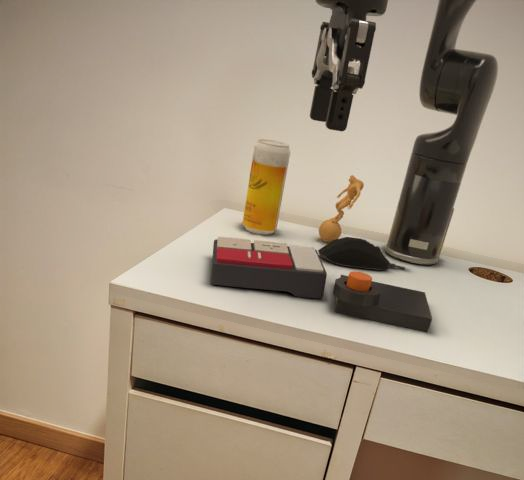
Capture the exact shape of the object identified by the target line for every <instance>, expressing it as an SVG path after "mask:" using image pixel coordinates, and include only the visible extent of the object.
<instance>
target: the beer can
mask: <svg viewBox="0 0 524 480" xmlns="http://www.w3.org/2000/svg"><path fill="white" fill-rule="evenodd" d="M290 157H291V150H290V145H289V144H288V143H287V142H286V143H285V142H282V141H278V140H273V139H265V138H258V139H257V142H256V143H255V144H254V147H253V154H252V159H251V160H252V161H251V165H250V171H249V172H250V173H249V180H248V185H247V192H246V198H245V205H244V212H243V219H242V225H243V227H244V229H245V230H246V231H248V232H249V233H252V234H257V235H263V236H264V235H265V236H266V235H267V236H268V235H269V236H270V235H272V234H273V233H274V232H276V231H277V229H278V222H279V218H280V211H281V208H282V207H281V206H282V201H283V196H284V190H285V185H286V180H287V179H286V178H287V174H288V168H289V163H290Z"/></svg>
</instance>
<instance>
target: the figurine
mask: <svg viewBox="0 0 524 480" xmlns="http://www.w3.org/2000/svg"><path fill="white" fill-rule="evenodd" d="M348 182H349V184H348V185H347V187H346V188H344V189H343V190H342V191H341V192H340V193H339V194H338V195H337V198H340V197H342V195H343V194H345V193H346V195H345V196H344V197H343V198H341V199H340V200H339V201H337V202H336V203H335V206H334V207H335V209H336V211H337V214H336V215H335V216H334V217H331V218H329V219H325V220H324V221H322V223H321V224H320V225H319V227H318V235H319V238H320V239H321V240H322V241H323V242H325V243H330V242H331V241H333V240H335V239H340V238H341V235H342V227H341V224H340V223H339V222H340V221H341V220H342V219H343V218H344V215H345V211H343V210H344V209H345V208H347V209H349V210H351V209H352V208H353V206H354V204H355V203H356V201H357V200H358V199H359V197H360V196H361V192H362V190H363V189H364V185H365V184H364V182H363V181H362V180H361V179H358V178H356V177H355V175H354V174H352V175H350V176H349V178H348Z"/></svg>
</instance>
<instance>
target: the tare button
mask: <svg viewBox="0 0 524 480" xmlns="http://www.w3.org/2000/svg"><path fill="white" fill-rule="evenodd" d="M347 276H348V279H347V283H346V286H347V287H349V288H352V289H354V290H359V291H369V289H370V285H371V282H372V281H373V276H372V275H370V274H368V273H365V272H362V271H356V270H354V271H349V273H348V275H347Z"/></svg>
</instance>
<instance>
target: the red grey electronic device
mask: <svg viewBox="0 0 524 480" xmlns="http://www.w3.org/2000/svg"><path fill="white" fill-rule="evenodd" d="M327 276H328V273H327V270H326V268H325V266H324V264H323V262H322V259H321V256H320V255H319V252H318V249H315V247H313V246H304V245H294V244H289V245H287V243H286V242H279V241H269V240H268V241H266V240H258V239H256V240H255V239H254V240H253V242H252V241H251V239H248V238H247V239H246V238H236V237H227V236H226V237H225V236H218V237H217V238H216V239H214V240H213V246H212V259H211V273H210V284H211V285H213V286H222V287H231V288H232V287H233V288H234V287H235V288H243V289H244V288H245V289H255V290H266V291H267V290H268V291H277V292H287V293H288V292H289V293H290V294H292V295H293V296H294V297H296V298H309V299H323V298H324V293H325V288H326V281H327Z"/></svg>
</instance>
